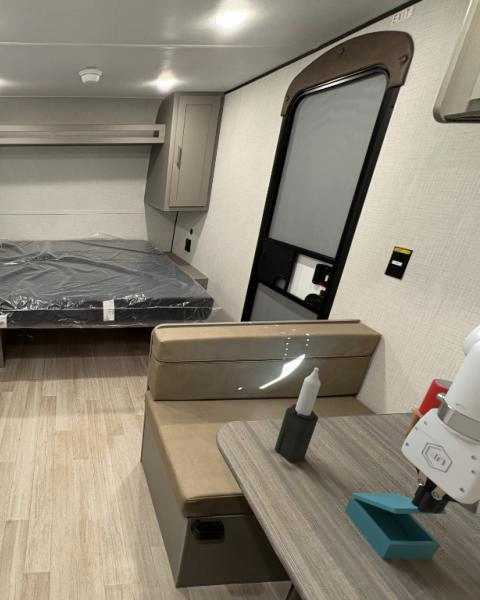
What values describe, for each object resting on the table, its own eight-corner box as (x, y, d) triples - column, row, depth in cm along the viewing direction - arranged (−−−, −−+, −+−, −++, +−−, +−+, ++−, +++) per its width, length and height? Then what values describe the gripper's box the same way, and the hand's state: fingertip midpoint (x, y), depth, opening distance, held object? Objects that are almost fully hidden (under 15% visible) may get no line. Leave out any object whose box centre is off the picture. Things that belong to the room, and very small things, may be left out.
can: (439, 410, 80) (454, 380, 77) (457, 425, 75) (475, 394, 72) (412, 406, 82) (427, 376, 78) (428, 421, 77) (445, 390, 73)
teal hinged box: (429, 561, 56) (440, 544, 54) (381, 560, 56) (390, 544, 54) (386, 513, 64) (395, 497, 62) (343, 512, 64) (351, 496, 62)
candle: (271, 450, 78) (297, 364, 69) (285, 444, 80) (312, 359, 71) (291, 466, 74) (321, 377, 65) (305, 459, 76) (337, 371, 67)
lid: (446, 514, 53) (444, 508, 54) (395, 513, 54) (394, 508, 54) (396, 497, 62) (395, 493, 62) (352, 497, 62) (351, 492, 62)
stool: (420, 431, 84) (432, 407, 81) (445, 449, 79) (459, 424, 76) (400, 432, 84) (411, 408, 81) (423, 450, 79) (437, 425, 76)
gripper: (402, 389, 53) (365, 469, 60) (515, 465, 39) (450, 558, 46) (447, 389, 53) (404, 469, 60) (576, 466, 39) (502, 559, 46)
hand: (424, 507), depth 53 cm, fingers closed
